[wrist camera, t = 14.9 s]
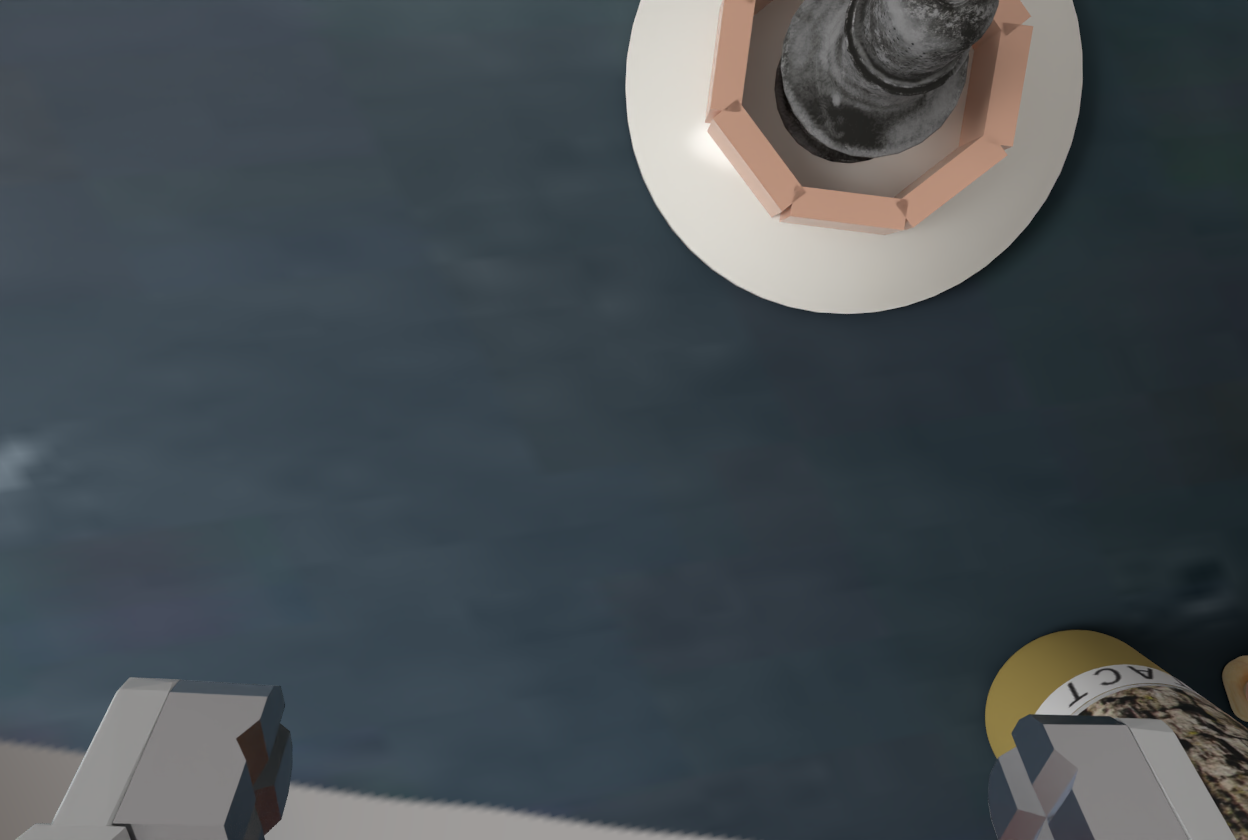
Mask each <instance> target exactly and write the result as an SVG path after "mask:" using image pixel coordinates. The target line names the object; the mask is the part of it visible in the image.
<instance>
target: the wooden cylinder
mask: <svg viewBox="0 0 1248 840" xmlns="http://www.w3.org/2000/svg"><path fill="white" fill-rule="evenodd" d="M1029 714H1040V715H1082V716H1110V717H1112V718H1146V719H1158V720H1162V721H1163V722H1164V723H1166V724H1167V725H1168V726H1169V727H1170V728H1171V729H1172V730H1173V732H1174V733H1175V735H1176V736H1177V738H1178V740H1179V742H1180V743H1181V745H1182V747H1183V749H1184V750H1185V752H1186V754H1187V756H1188V757H1189V759H1190V761H1191V762H1192V764H1193V766H1194V768H1195V769H1196V771H1197V773H1198V775H1199V776H1200V778H1201V780H1202V781H1203V783H1204V785H1205V787H1206V788H1207V790H1208V792H1209V794H1210V795H1211V797H1212V799H1213V801H1214V802H1215V804H1216V806H1217V807H1218V809H1219V811H1220V813H1221V814H1222V816H1223V818H1224V820H1225V821H1226V823H1227V825H1228V826H1229V828H1230V830H1231V832H1232V833H1233V835H1234V837H1235V839H1236V840H1248V728H1246V727H1245V726H1243V725H1242V724H1240V723H1239V722H1238V721H1236V720H1235V719H1233V718H1232V717H1231V716H1229V715H1228V714H1226V713H1225V712H1224V711H1222V710H1221V709H1219V708H1218V707H1216V706H1215V705H1214V704H1212V703H1211V702H1209V701H1208V700H1207V699H1205V698H1204V697H1202V696H1201V695H1199V694H1198V693H1197V692H1195V691H1194V690H1192V689H1191V688H1190V687H1188V686H1187V685H1185V684H1184V683H1182V682H1181V681H1179V680H1178V679H1176V678H1175V677H1173V676H1171V675H1170V674H1169V673H1167V672H1166V671H1164V670H1163V669H1161V668H1160V667H1159V666H1157V665H1156V664H1154V663H1153V662H1152V661H1150V660H1149V659H1147V658H1146V657H1145V656H1143V655H1142V654H1140V653H1139V652H1137V651H1136V650H1135V649H1133V648H1132V647H1130V646H1129V645H1127V644H1126V643H1124V642H1122V641H1120V640H1118V639H1116V638H1114V637H1111V636H1108V635H1106V634H1103V633H1099V632H1095V631H1088V630H1066V631H1059V632H1055V633H1051V634H1048V635H1045V636H1042V637H1040V638H1038V639H1036V640H1034V641H1032V642H1030V643H1028V644H1027V645H1025V646H1024V647H1022V648H1021V649H1020V650H1018V651H1017V652H1016V653H1015V654H1014V655H1013V656H1011V657H1010V658H1009V660H1008V661H1007V662H1006V663H1005V664H1004V665H1003V667H1002V668H1001V669H1000V671H999V672H998V674H997V676H996V677H995V679H994V681H993V683H992V686H991V688H990V691H989V694H988V698H987V702H986V710H985V724H986V731H987V736H988V739H989V742H990V745H991V747H992V750H993V752H994V754H995V756H996V758H997V759H998V757H1000V756H1001V755H1003V754H1005V753H1006V752H1008V751H1010V750H1011V749H1013V748H1015V747H1016V744H1015V742H1014V739H1013V737H1012V734H1011V733H1012V731H1013V729H1014V728H1015V726H1016V724H1017V722H1018V721H1019V719H1021V718H1023V717H1025V716H1027V715H1029Z"/></svg>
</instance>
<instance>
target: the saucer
mask: <svg viewBox="0 0 1248 840" xmlns="http://www.w3.org/2000/svg"><path fill="white" fill-rule="evenodd" d="M803 1H804V0H641V1H640V5H639V8H638V11H637V14H636V17H635V20H634V23H633V27H632V33H631V38H630V43H629V49H628V54H627V68H626V86H625V89H626V104H627V118H628V126H629V131H630V136H631V141H632V146H633V151H634V155H635V157H636V160H637V163H638V166H639V169H640V172H641V175H642V178H643V181H644V183H645V185H646V187H647V189H648V191H649V193H650V195H651V197H652V199H653V201H654V203H655V205H656V207H657V208H658V210H659V211H660V213H661V214H662V216H663V217H664V219H665V220H666V222H667V223H668V225H669V226H670V228H671V229H672V231H673V232H674V233H675V234H676V235H677V236H678V237H679V239H680V240H681V241H682V242H683V243H684V244H685V246H686V247H687V248H688V249H689V250H690V251H691V252H692V253H693V254H694V255H695V256H697V257H698V258H699V259H700V260H701V261H702V262H703V263H704V264H706V265H707V266H708V267H709V268H710V269H711V270H713V271H714V272H716V273H717V274H719V275H720V276H722V277H723V278H725V279H726V280H728V281H729V282H731V283H732V284H734V285H735V286H737V287H739V288H741V289H743V290H745V291H747V292H749V293H752V294H754V295H756V296H758V297H760V298H762V299H765V300H768V301H771V302H774V303H777V304H780V305H783V306H786V307H791V308H797V309H802V310H807V311H812V312H822V313H840V314H855V313H869V312H879V311H884V310H889V309H894V308H898V307H903V306H907V305H910V304H913V303H916V302H919V301H922V300H925V299H928V298H930V297H933V296H936V295H938V294H940V293H942V292H944V291H946V290H948V289H950V288H952V287H954V286H956V285H958V284H960V283H961V282H963V281H964V280H966V279H967V278H969V277H970V276H972V275H973V274H975V273H976V272H978V271H980V270H981V269H983V268H984V267H986V266H987V265H988V264H989V263H990V262H991V261H992V260H994V259H995V258H996V257H997V256H998V255H999V254H1001V253H1002V252H1003V251H1004V250H1005V249H1006V248H1008V247H1009V246H1010V244H1011V243H1012V242H1013V241H1014V240H1015V239H1016V238H1017V237H1018V236H1019V234H1020V233H1021V232H1022V231H1023V230H1024V229H1025V228H1026V227H1027V226H1028V225H1029V223H1030V222H1031V220H1032V219H1033V217H1034V216H1035V215H1036V213H1037V212H1038V210H1039V209H1040V208H1041V206H1042V205H1043V203H1044V202H1045V200H1046V199H1047V197H1048V195H1049V193H1050V191H1051V189H1052V188H1053V186H1054V184H1055V182H1056V180H1057V178H1058V176H1059V174H1060V172H1061V170H1062V167H1063V165H1064V162H1065V160H1066V157H1067V154H1068V152H1069V149H1070V146H1071V144H1072V140H1073V136H1074V132H1075V128H1076V124H1077V120H1078V116H1079V110H1080V101H1081V92H1082V84H1083V68H1082V45H1081V38H1080V31H1079V24H1078V19H1077V15H1076V12H1075V8H1074V4H1073V1H1072V0H999V5H998V8H997V11H996V13H995V16H994V18H993V21H992V23H991V25H990V26H989V28H988V29H987V31H986V32H985V33H984V35H983V36H982V38H980V39H979V40H978V41H977V42H976V43H975V44H973V45H972V46H971V48H970V51H969V53H968V54H969V61H968V68H967V76H966V83H965V85H964V88H963V90H962V93H961V95H960V98H959V100H958V103H957V105H956V107H955V109H954V110H953V111H952V113H951V114H950V115H949V117H948V118H947V120H946V121H945V122H944V124H943V125H942V126H941V127H940V128H939V129H938V130H937V131H936V132H934V133H933V134H932V135H931V136H929V137H928V138H927V139H926V140H925V141H923V142H922V143H921V144H918V145H916V146H914V147H912V148H910V149H908V150H906V151H903V152H901V153H899V154H894V155H889V156H883V157H877V158H873V159H871V160H867V161H861V162H856V163H841V162H831V161H828V160H826V159H823V158H820V157H818V156H815V155H813V154H811V153H810V152H809V151H807V150H806V149H805V148H803V147H802V146H800V145H799V144H798V143H797V142H796V141H795V140H794V138H793V137H792V136H791V135H790V133H789V132H788V131H787V129H786V128H785V126H784V124H783V122H782V119H781V117H780V115H779V112H778V110H777V104H776V97H775V90H774V88H775V79H776V70H777V67H778V64H779V61H780V59H781V56H782V49H783V41H784V38H785V35H786V33H787V30H788V27H789V25H790V22H791V19H792V17H793V15H794V14H795V12H796V11H797V10H798V8H799V7H800V5H801V4H802V2H803Z"/></svg>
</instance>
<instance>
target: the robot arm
mask: <svg viewBox="0 0 1248 840" xmlns="http://www.w3.org/2000/svg"><path fill="white" fill-rule="evenodd" d="M284 708H285V702H284V698H283V694H282V690H281V686H274V685H258V684H241V683H224V682H208V681H191V680H179V679H156V678H133V677H130V678H129V679H128V680H127V681H126V682H125V683H124V684H123V685H122V686H121V687H120V689H119V690H118V691H117V692H116V694H115V696H114V698H113V700H112V702H111V704H110V706H109V708H108V710H107V712H106V714H105V716H104V718H103V720H102V722H101V724H100V726H99V728H98V730H97V732H96V734H95V736H94V738H93V740H92V742H91V744H90V746H89V748H88V750H87V752H86V754H85V756H84V758H83V761H82V762H81V764H80V766H79V768H78V770H77V772H76V775H75V777H74V778H73V781H72V783H71V785H70V787H69V789H68V791H67V793H66V795H65V797H64V799H63V801H62V803H61V805H60V807H59V809H58V811H57V813H56V815H55V817H54V819H53V821H52V823H51V824H35V825H33V826H32V827H31V828H29V829H28V830H27V831H26V832H25V833H23V834H22V835H21V836H20V837H18V838H17V839H16V840H265V838H264V835H265V834H267V833H268V832H269V831H270V830H271V829H272V828H273V827H274V826H275V825H276V824H277V823H278V822H279V821H280V820H281V819H282V815H283V811H284V807H285V803H286V800H287V796H288V792H289V785H290V778H291V771H292V741H291V734H290V731H289V730H288V729H286V728H285V727H284V726H283V725H281V724H280V721H281V718H282V714H283V711H284ZM1011 734H1012V737H1013V739H1014V742H1015V744H1016V747H1015V748H1013V749H1011V750H1010V751H1008V752H1006V753H1005V754H1003V755H1001V756H1000V757H998V759H997V761H996V763H995V765H994V767H993V769H992V771H991V773H990V775H989V789H988V803H989V809H990V814H991V820H992V823H993V826H994V828H995V831H996V834H997V837H998V840H1236V839H1235V837H1234V835H1233V833H1232V832H1231V830H1230V828H1229V826H1228V825H1227V823H1226V821H1225V820H1224V818H1223V816H1222V814H1221V813H1220V811H1219V809H1218V807H1217V806H1216V804H1215V802H1214V801H1213V799H1212V797H1211V795H1210V794H1209V792H1208V790H1207V788H1206V787H1205V785H1204V783H1203V781H1202V780H1201V778H1200V776H1199V775H1198V773H1197V771H1196V769H1195V768H1194V766H1193V764H1192V762H1191V761H1190V759H1189V757H1188V756H1187V754H1186V752H1185V750H1184V749H1183V747H1182V745H1181V743H1180V742H1179V740H1178V738H1177V736H1176V735H1175V733H1174V732H1173V730H1172V729H1171V728H1170V727H1169V726H1168V725H1167V724H1166V723H1164V722H1163V721H1162V720H1158V719H1146V718H1112V717H1110V716H1082V715H1040V714H1029V715H1027V716H1025V717H1023V718H1021V719H1019V721H1018V722H1017V724H1016V726H1015V728H1014V729H1013V731H1012V733H1011Z"/></svg>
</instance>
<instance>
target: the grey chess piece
mask: <svg viewBox="0 0 1248 840" xmlns="http://www.w3.org/2000/svg"><path fill="white" fill-rule="evenodd" d="M998 5H999V0H804V1H803V2H802V4H801V5H800V7H799V8H798V10H797V11H796V12H795V14H794V15H793V17H792V19H791V22H790V25H789V27H788V30H787V33H786V35H785V38H784V41H783V49H782V56H781V59H780V61H779V64H778V67H777V70H776V79H775V88H774V90H775V97H776V104H777V110H778V112H779V115H780V117H781V119H782V122H783V124H784V126H785V128H786V129H787V131H788V132H789V133H790V135H791V136H792V137H793V138H794V140H795V141H796V142H797V143H798V144H799V145H800V146H802V147H803V148H805V149H806V150H807V151H809V152H810V153H811V154H813V155H815V156H818V157H820V158H823V159H826V160H828V161H831V162H841V163H856V162H861V161H867V160H871V159H873V158H877V157H883V156H889V155H894V154H899V153H901V152H903V151H906V150H908V149H910V148H912V147H914V146H916V145H918V144H921V143H922V142H923V141H925V140H926V139H927V138H928V137H929V136H931V135H932V134H933V133H934V132H936V131H937V130H938V129H939V128H940V127H941V126H942V125H943V124H944V122H945V121H946V120H947V118H948V117H949V115H950V114H951V113H952V111H953V110H954V109H955V107H956V105H957V103H958V100H959V98H960V95H961V93H962V90H963V88H964V85H965V83H966V76H967V68H968V61H969V54H968V53H969V51H970V48H971V46H972V45H973V44H975V43H976V42H977V41H978V40H979V39H980V38H982V36H983V35H984V33H985V32H986V31H987V29H988V28H989V26H990V25H991V23H992V21H993V18H994V16H995V13H996V11H997V8H998Z"/></svg>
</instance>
